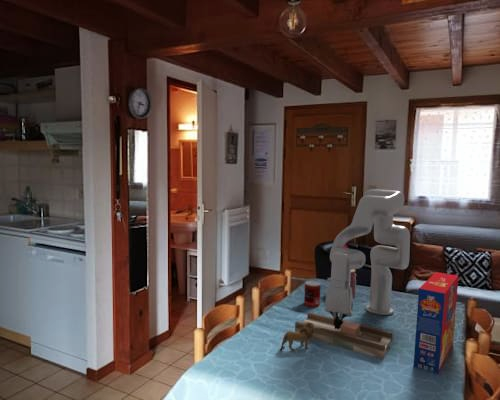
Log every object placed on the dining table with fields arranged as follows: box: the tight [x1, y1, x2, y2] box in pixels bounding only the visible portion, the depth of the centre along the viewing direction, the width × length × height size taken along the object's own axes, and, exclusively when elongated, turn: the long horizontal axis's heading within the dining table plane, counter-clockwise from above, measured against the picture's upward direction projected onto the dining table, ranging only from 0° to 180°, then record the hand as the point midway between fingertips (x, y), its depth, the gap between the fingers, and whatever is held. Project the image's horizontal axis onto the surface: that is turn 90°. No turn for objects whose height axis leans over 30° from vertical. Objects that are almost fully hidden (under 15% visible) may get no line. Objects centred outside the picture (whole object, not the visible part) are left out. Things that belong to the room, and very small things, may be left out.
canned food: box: [303, 280, 322, 308], centre depth 194 cm, size 8×8×11 cm
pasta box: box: [413, 271, 459, 375], centre depth 143 cm, size 28×8×28 cm, turn 144°
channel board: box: [294, 311, 393, 360], centre depth 155 cm, size 14×35×5 cm, turn 58°
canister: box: [350, 269, 358, 299], centre depth 210 cm, size 13×13×18 cm
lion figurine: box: [279, 322, 314, 352], centre depth 146 cm, size 15×5×9 cm, turn 118°
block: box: [340, 320, 361, 337], centre depth 153 cm, size 6×6×4 cm
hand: (337, 327), depth 156 cm, fingers closed
